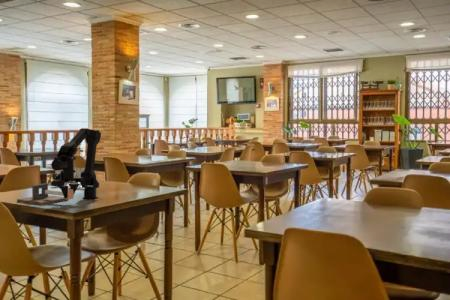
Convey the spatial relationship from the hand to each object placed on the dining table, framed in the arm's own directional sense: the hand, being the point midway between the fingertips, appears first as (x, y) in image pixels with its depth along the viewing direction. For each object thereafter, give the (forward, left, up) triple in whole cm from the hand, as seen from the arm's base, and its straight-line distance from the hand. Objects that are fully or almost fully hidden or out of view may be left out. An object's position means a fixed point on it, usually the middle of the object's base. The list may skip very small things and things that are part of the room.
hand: (68, 197), depth 257 cm
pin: (0, -8, 0) cm, 8 cm away
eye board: (0, -19, -4) cm, 19 cm away
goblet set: (-50, -49, -4) cm, 70 cm away
